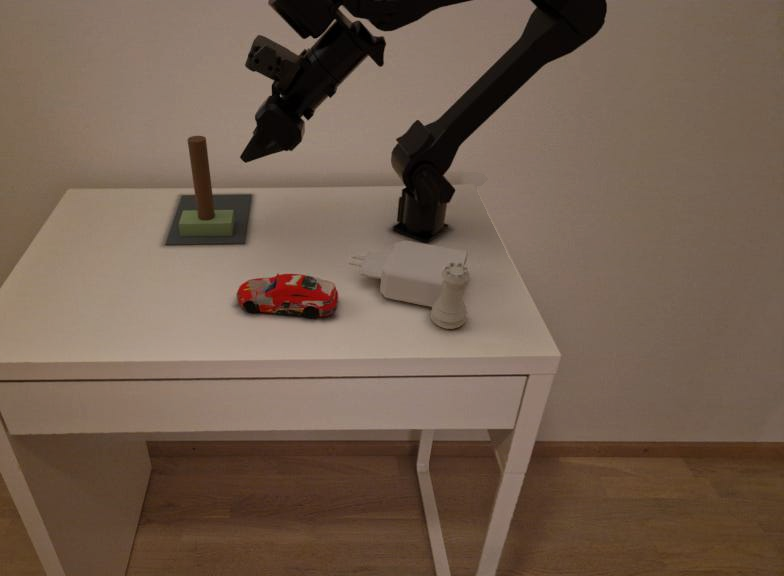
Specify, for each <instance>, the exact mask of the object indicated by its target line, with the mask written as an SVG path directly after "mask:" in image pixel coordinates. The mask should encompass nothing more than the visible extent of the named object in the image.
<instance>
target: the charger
mask: <svg viewBox="0 0 784 576" xmlns="http://www.w3.org/2000/svg"><path fill="white" fill-rule="evenodd" d="M468 254H469V251H468V250H462V249H458V248H452V247H445V246H440V245H434V244H428V243H424V242H417V241H410V240H405V239H404V240H400V241H398V242H396V243H394V245H393V247H392V249H391V250H390V252H389V254H388V253H382V252H378V251H371V250H370V251H367V253H366V255H365V256H361V255H357V254H353V255H352V256H351V258H352V259H355V260H359V261H360V260H361V261H362V262H358V261H353V260H349V261H348V265H351V266H356V267H360V268H359V275H360V276H364V277H367V278H374V279H377V280H378V279H379V280H380V287H379V292H380V293H381V294H382V295H383V296H384V298H386V299H389V300H395V301H399V302H404V303H410V304H414V305H420V306H425V307H429V308H432V306H433V305H434V303H435V301H437V299H438V298H439V297H440V295H441V292H442V289H443V287H442V281H443V280H444V279H443V278H442V276H441V272H442V271H443V269H445V267H446V265H447V264H448V265H450V262H454V265H457V264H458V262H461V263H462V266H463V265H466V264H467V260H468ZM466 266H467V265H466Z"/></svg>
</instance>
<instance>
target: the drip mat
mask: <svg viewBox="0 0 784 576" xmlns="http://www.w3.org/2000/svg"><path fill="white" fill-rule="evenodd" d="M212 195H213V203H214V210H234V220H235V223H234V229H233V235H232V236H186V237H181V235H180V229H179V221H180V218H181V215H182V212H183V211H186V210H197V205H196V198H195V194H182V195H181V197H180V199H179V200H180V201H179V204H178V206H177V209H176V211H175V214H174V218H173V221H172V223H171V225H170V229H169V232H168V235H167V237H166V241H165V244H164V245H165V246H199V245H203V246H204V245H245V244H246V243H245V242H246V238H247V237H246V235H247V229H248V222H249V216H250V215H249V214H250V207H251V199H252V194H251V193H249V194H242V193H241V194H212Z"/></svg>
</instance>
